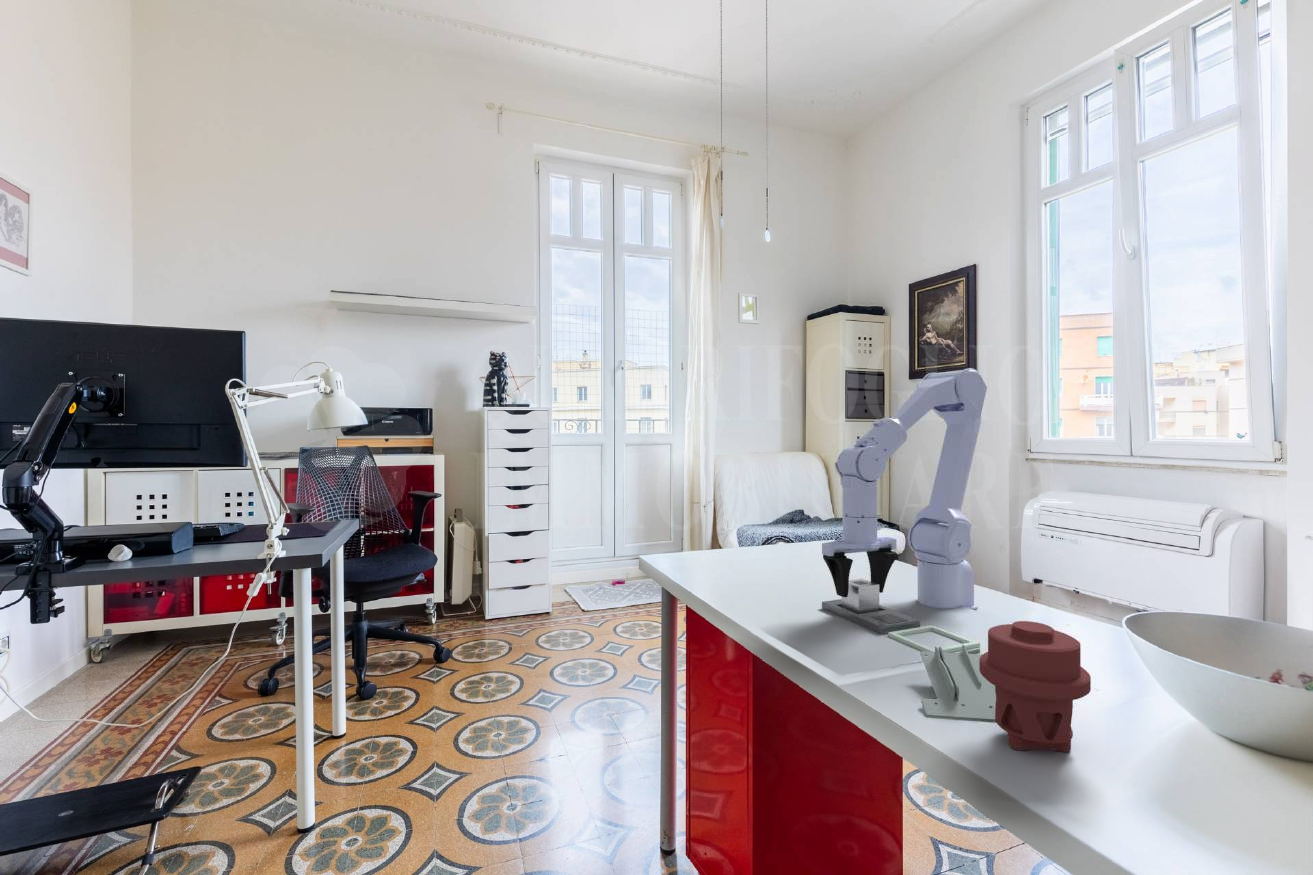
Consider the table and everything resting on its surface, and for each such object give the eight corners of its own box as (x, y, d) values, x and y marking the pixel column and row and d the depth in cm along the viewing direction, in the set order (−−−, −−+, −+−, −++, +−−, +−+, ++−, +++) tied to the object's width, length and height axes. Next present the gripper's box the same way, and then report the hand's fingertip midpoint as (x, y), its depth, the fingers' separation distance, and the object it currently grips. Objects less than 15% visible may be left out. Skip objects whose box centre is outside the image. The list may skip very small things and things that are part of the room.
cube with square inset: (862, 609, 109) (861, 578, 109) (879, 616, 105) (879, 584, 105) (841, 612, 107) (841, 580, 107) (858, 619, 103) (858, 586, 103)
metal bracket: (903, 635, 82) (1025, 640, 79) (901, 671, 84) (1020, 678, 81) (930, 711, 69) (1077, 721, 66) (927, 752, 70) (1070, 763, 68)
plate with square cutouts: (857, 608, 113) (857, 596, 113) (920, 633, 99) (920, 619, 99) (821, 613, 110) (821, 601, 110) (881, 640, 96) (880, 626, 96)
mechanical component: (1113, 754, 62) (1048, 777, 58) (1020, 712, 71) (958, 730, 67) (1113, 633, 62) (1047, 649, 58) (1020, 607, 71) (958, 619, 67)
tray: (932, 634, 98) (931, 625, 98) (980, 653, 90) (980, 642, 90) (888, 641, 95) (888, 632, 95) (933, 662, 87) (933, 651, 87)
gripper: (840, 521, 99) (840, 604, 100) (909, 516, 105) (909, 594, 105) (814, 515, 106) (814, 593, 106) (880, 511, 111) (880, 585, 111)
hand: (859, 593), depth 106 cm, fingers open, 7 cm apart
